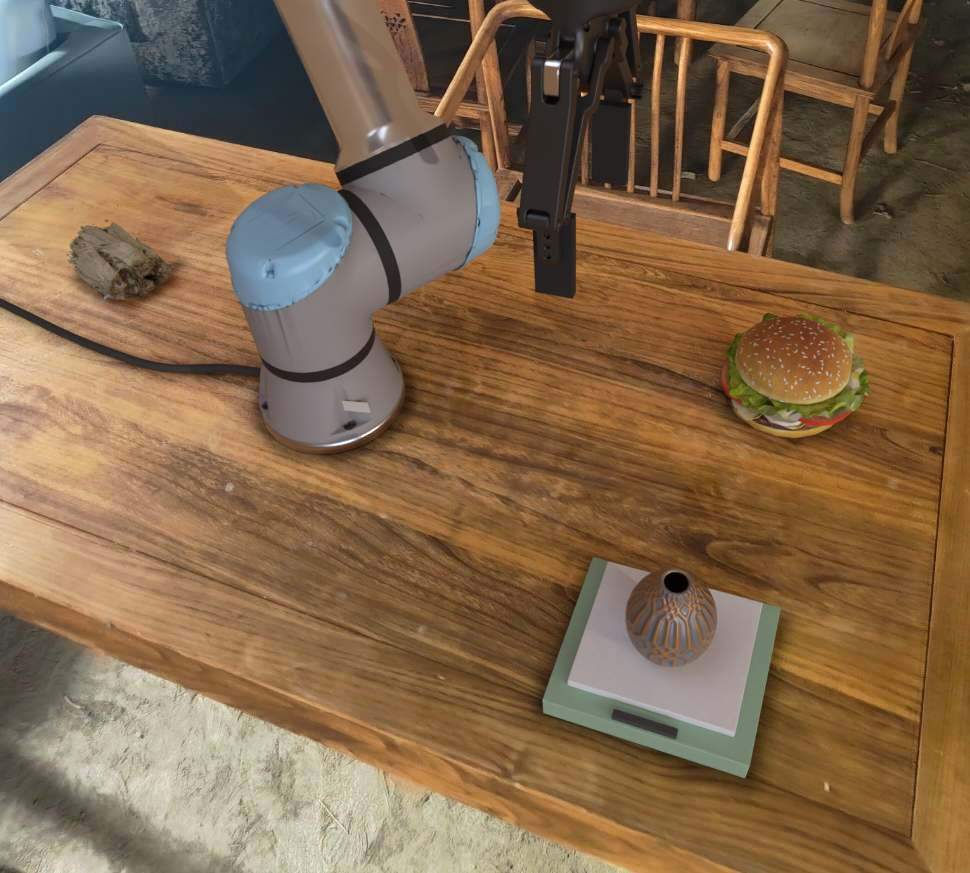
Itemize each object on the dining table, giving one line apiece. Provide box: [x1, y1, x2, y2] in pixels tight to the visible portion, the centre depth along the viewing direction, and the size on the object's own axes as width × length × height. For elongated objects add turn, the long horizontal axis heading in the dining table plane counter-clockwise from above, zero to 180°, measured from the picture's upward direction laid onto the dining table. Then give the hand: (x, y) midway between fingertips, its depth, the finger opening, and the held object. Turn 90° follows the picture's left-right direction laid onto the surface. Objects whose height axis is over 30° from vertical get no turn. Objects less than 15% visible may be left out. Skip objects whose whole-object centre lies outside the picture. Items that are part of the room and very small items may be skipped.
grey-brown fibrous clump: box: [65, 219, 175, 304], centre depth 113 cm, size 14×10×5 cm, turn 47°
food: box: [720, 312, 871, 439], centre depth 91 cm, size 14×14×8 cm
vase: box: [625, 567, 717, 667], centre depth 71 cm, size 7×7×9 cm
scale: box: [541, 556, 782, 779], centre depth 75 cm, size 16×14×3 cm
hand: (584, 233), depth 68 cm, fingers open, 13 cm apart
